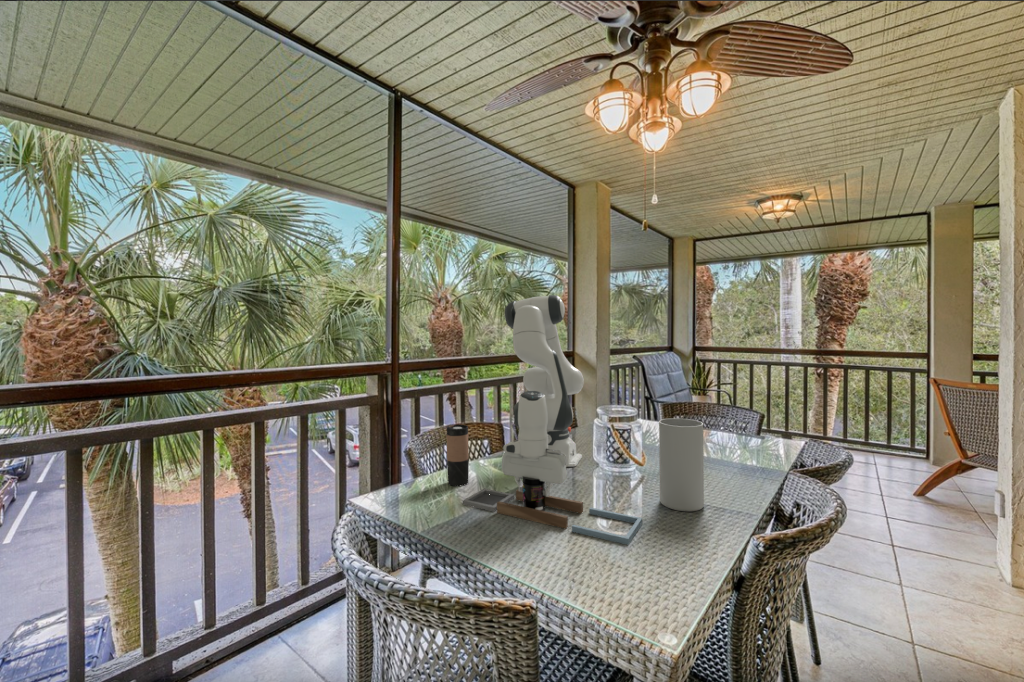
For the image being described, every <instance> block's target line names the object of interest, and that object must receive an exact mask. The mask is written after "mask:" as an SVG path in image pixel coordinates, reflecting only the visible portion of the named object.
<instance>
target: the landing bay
mask: <svg viewBox="0 0 1024 682" xmlns="http://www.w3.org/2000/svg"><path fill="white" fill-rule="evenodd" d="M588 511H589V515H593V516H598V517H603V518H608V519H612V520H617V521H622V522H627V523H633V525H632V527H631V528H630V529H629V531H628V532H627V533H626V535H622V534H621V535H620V534H616V533H612V532H608V531H603V530H600V529H595V528H591V527H586V526H581V525H575V524H572V525H571V532H573V533H575V532H576V533H577V534H581V535H584V536H589V537H592V536H593V537H594V538H598V539H601V540H606V541H610V542H614V543H619V544H623V545H626V544H627V545H628V546H629V544H630V543H631V542H632V540H633V539H634V538H635V536H636V534H637V533H636V532H638V531H639V530H638V529H640V528H641V526H642V525H643V520H644V519H643V517H639V516H636V515H630V514H625V513H619V512H617V511H616V512H614V511H610V510H606V509H605V510H604V509H600V508H594V507H589V509H588ZM627 545H626V546H627Z"/></svg>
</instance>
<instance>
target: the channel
mask: <svg viewBox="0 0 1024 682" xmlns="http://www.w3.org/2000/svg"><path fill="white" fill-rule="evenodd" d="M515 500H516V501H518V500H520V501H519V502H523V492H520V491H518V489H516V490H515ZM547 506H548V508H552V507H553V508H552V509H557V508H558V510H561V509H562V511H566V510H567V511H566V512H571V511H572V513H576V512H578V513H577V514H581V513H582V512H583V513H584V501H580V500H574V499H571V498H570V499H569V498H566V497H565V498H563V497H558V496H554V495H550V496H548V497H546V496H545V507H547ZM496 513H497V514H501V515H505V516H509V517H512V518H519V519H522V520H527V521H531V522H535V523H539V524H544V525H548V526H553V527H556V526H557V527H556V528H560V527H561V528H560V529H564V528H565V530H567V529H568V528H569V517H568V515H563V514H559V513H556V512H555V513H554V512H550V511H546V510H545V511H542V510H537V509H532V508H528V507H523V505H518V504H514V503H510V502H508V503H505V502H500V501H499V502H497V510H496ZM583 513H582V514H583ZM567 527H568V528H567ZM566 528H567V529H566Z"/></svg>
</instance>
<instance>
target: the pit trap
mask: <svg viewBox="0 0 1024 682" xmlns="http://www.w3.org/2000/svg"><path fill="white" fill-rule="evenodd" d="M489 494H490V495H489ZM512 499H513V500H514V499H515V494H513V493H509V492H503V491H498V490H493V489H489V488H482V489H481V490H479V491H476V493H475V492H474V494H472V495H470V496H467V498H465V499H463V500H462V505H463V504H464V506H467V507H471V506H472V508H477V509H480V508H481V510H484V509H485V510H484V511H488V512H497V502H499V501H500V502H505V503H510V502H511V501H513V500H512ZM510 500H511V501H510ZM509 501H510V502H509Z"/></svg>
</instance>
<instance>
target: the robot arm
mask: <svg viewBox="0 0 1024 682" xmlns="http://www.w3.org/2000/svg"><path fill="white" fill-rule="evenodd" d="M565 313H566V307H565V303H564V301H563V300H562V298H561V297H560V296H559V295H557V294H549V295H541V296H540V295H539V296H538V295H537V296H532V297H528V298H524V299H520V300H513V301H511V302H509V303H507V304H506V306H505V308H504V320H505V322H506V325H507V326H508V327H509V329H511V330H512V343H513V350H514V353H515V356H517V358H519V360H521V361H522V362H524V363H526V364H528V365H530V366H534V367H529V368H527V369H526V370H525V372H524V374H523V377H522V378H523V379H522V383H523V386H524V388H525V389H526V391H524V392H522V393H520V395H519V400H518V402H517V403H515V405H513V414H514V415H513V417H514V418H513V419H514V421H513V425H514V426H516V427H517V428H518V435H517V439H516V440H512V441H510V442H508V443H506V444H504V445H503V447H502V448H503V451H504V453H503V454H502V456H501V457H502V458H501V471H502V473H503V474H504V475H505V476H510V477H514V481H515V483H516V485H517V486H518V489H517V490H518V491H520V492H523V482H522V476H524V477H529V478H535V479H540V481H544V482H545V486H546V487H545V489H544V490H543V496H546V497H548V496H551V489H552V487H553V486H554V484H555V485H556V484H557V485H562V484H563V483H565V481H567V479H568V475H567V468H568V467H577V466H578V463H579V462H581V461H580V460H581V459H582V457H583V455H582V453H579V452H577V444H576V442H574V440H573V439H572V438H571V437H570V433H571V431H572V427H571V426H572V424H573V421H574V420H573V419H574V412H573V411H574V410H573V408H572V404H571V403H570V399H569V396H571V395H575V394H579V393H580V392H581V391H582V389H583V387H584V385H585V384H584V383H585V379H584V376H583V373H582V371H580V369H577V368H576V367H574V365H572V364H571V362H570V361H569V360H568V358H567V357H566V356H565V354H564V352H563V350H562V346H561V341H560V337H559V333H558V326H557V324H560V323H561V322H562V321H563V320H564V317H565Z"/></svg>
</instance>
